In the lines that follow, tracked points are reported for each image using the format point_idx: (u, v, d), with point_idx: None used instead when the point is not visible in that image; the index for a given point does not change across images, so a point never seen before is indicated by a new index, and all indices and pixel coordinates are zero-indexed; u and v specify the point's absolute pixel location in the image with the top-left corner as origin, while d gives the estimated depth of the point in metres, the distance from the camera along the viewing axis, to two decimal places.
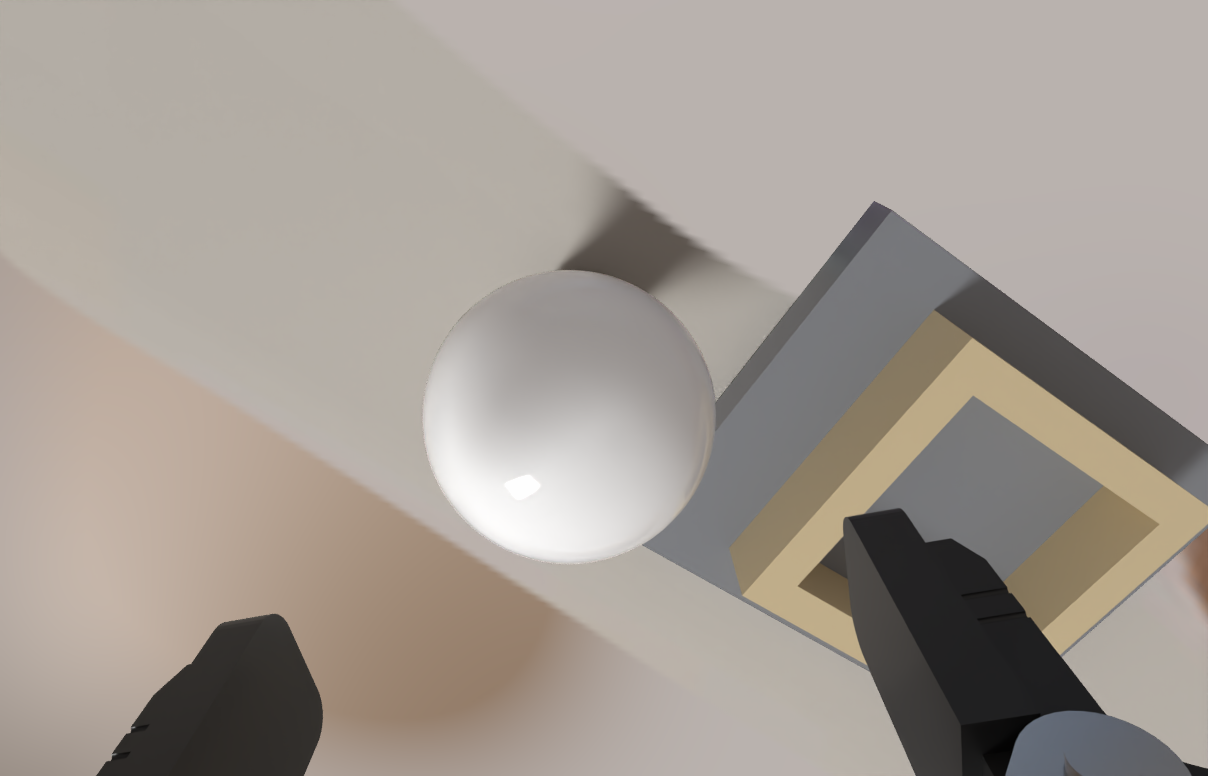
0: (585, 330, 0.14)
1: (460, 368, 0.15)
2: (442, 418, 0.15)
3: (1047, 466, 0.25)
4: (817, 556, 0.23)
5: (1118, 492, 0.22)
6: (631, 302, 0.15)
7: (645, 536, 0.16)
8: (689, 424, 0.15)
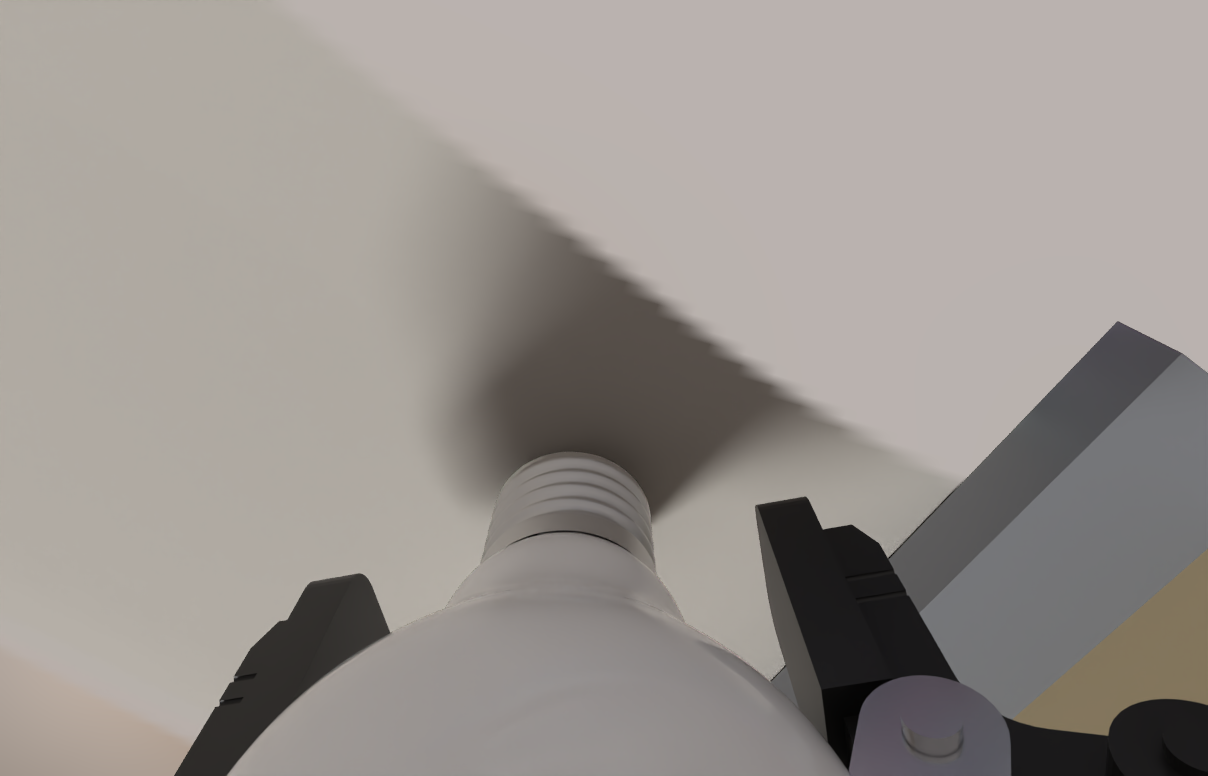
0: None
1: None
2: None
3: None
4: None
5: None
6: None
7: None
8: None
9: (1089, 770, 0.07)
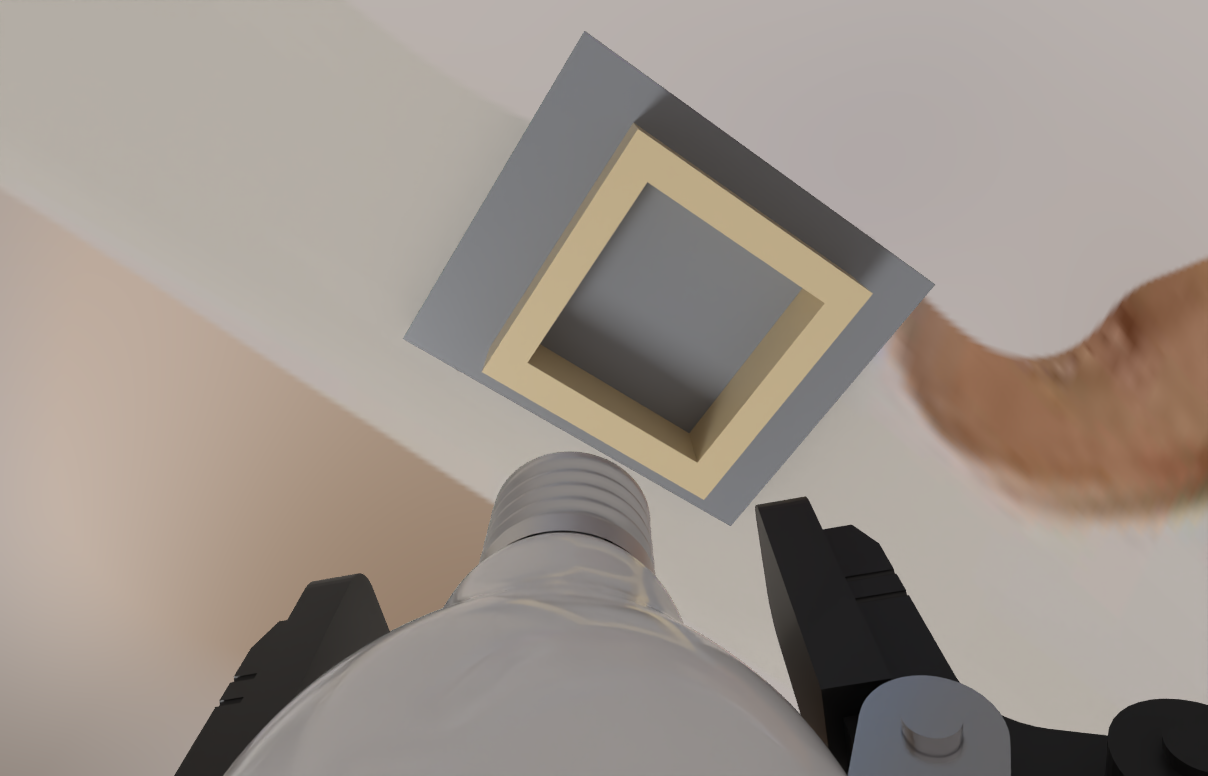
0: None
1: None
2: None
3: (752, 269, 0.29)
4: (540, 334, 0.27)
5: (784, 273, 0.27)
6: None
7: None
8: None
9: (1089, 770, 0.07)
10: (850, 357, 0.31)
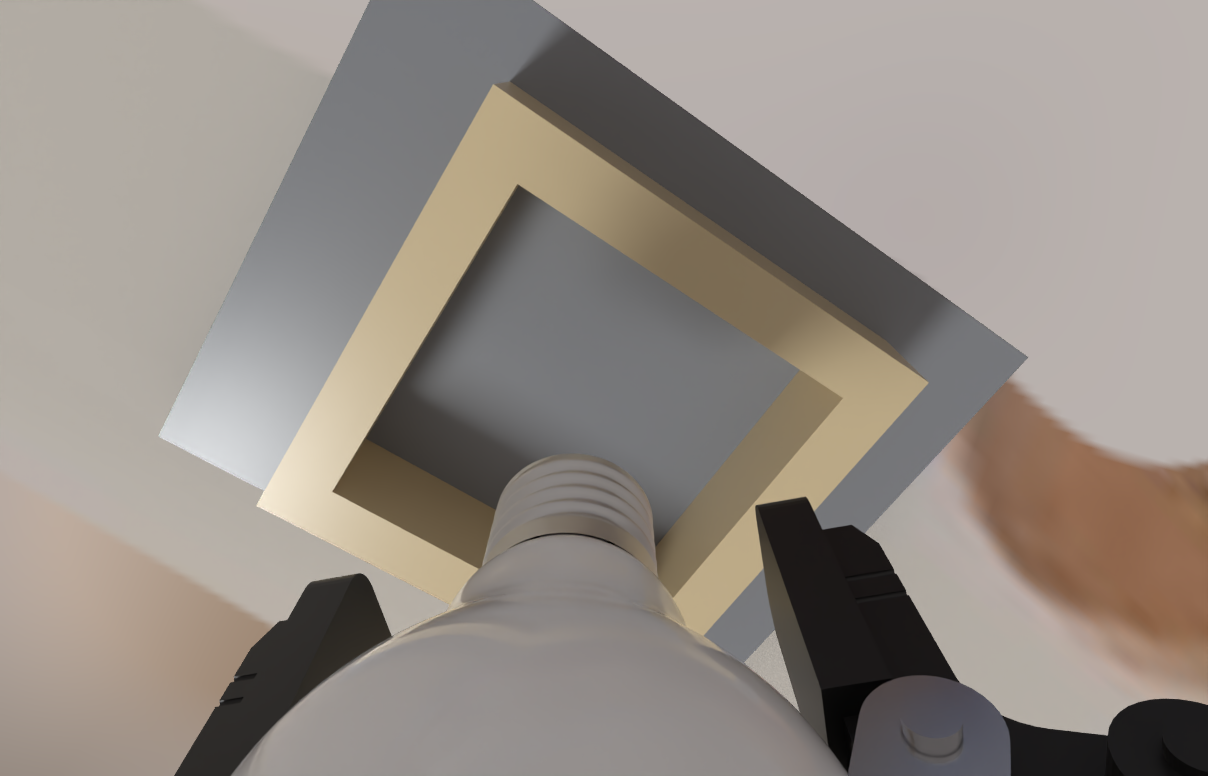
0: None
1: None
2: None
3: (722, 331, 0.17)
4: (349, 446, 0.16)
5: (772, 346, 0.15)
6: None
7: None
8: None
9: (1089, 770, 0.07)
10: (884, 470, 0.19)
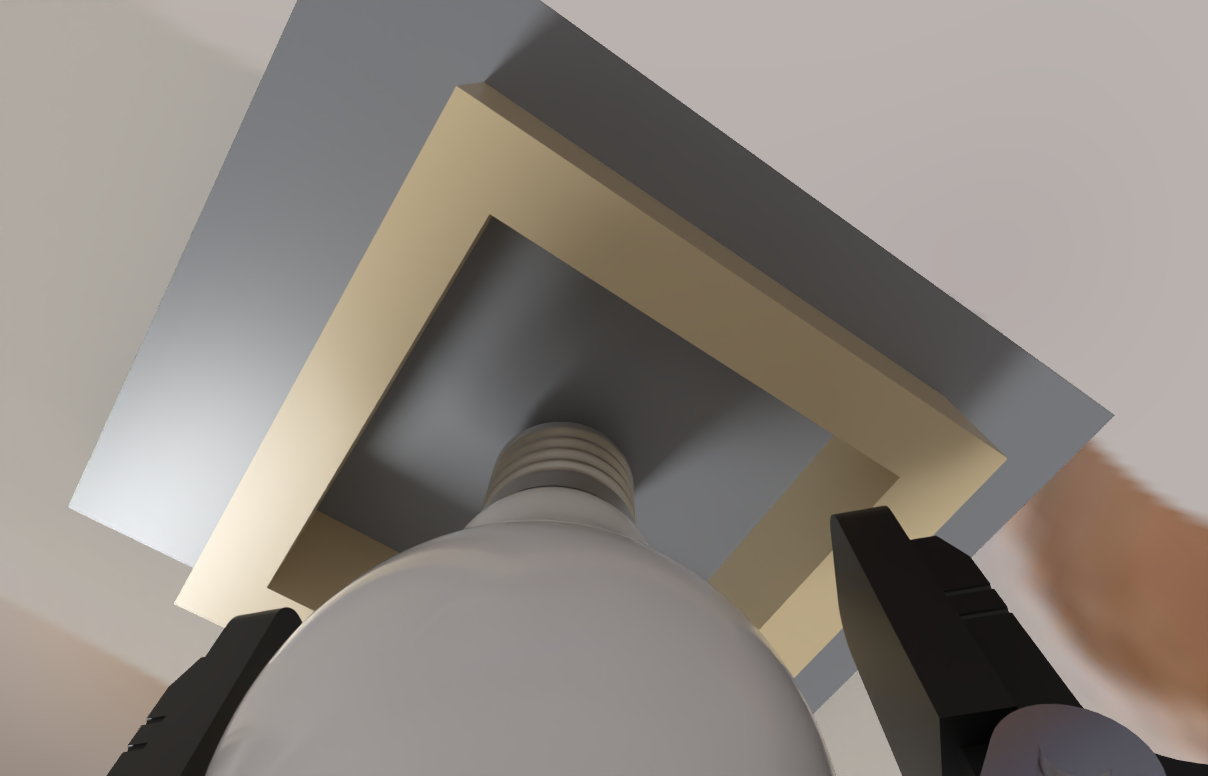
0: None
1: None
2: None
3: (744, 384, 0.14)
4: (285, 534, 0.13)
5: (812, 415, 0.12)
6: (665, 673, 0.06)
7: None
8: None
9: None
10: None
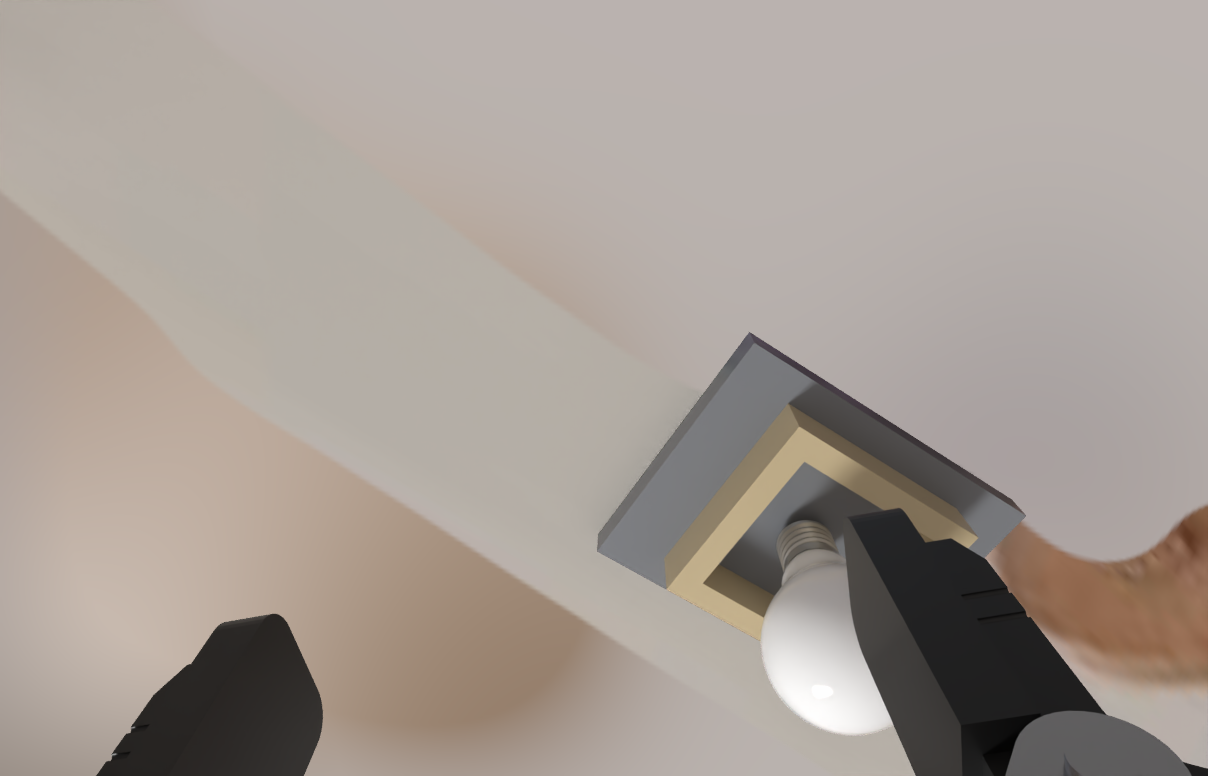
0: None
1: (803, 638, 0.28)
2: (792, 663, 0.28)
3: None
4: (714, 563, 0.35)
5: None
6: None
7: None
8: None
9: None
10: None
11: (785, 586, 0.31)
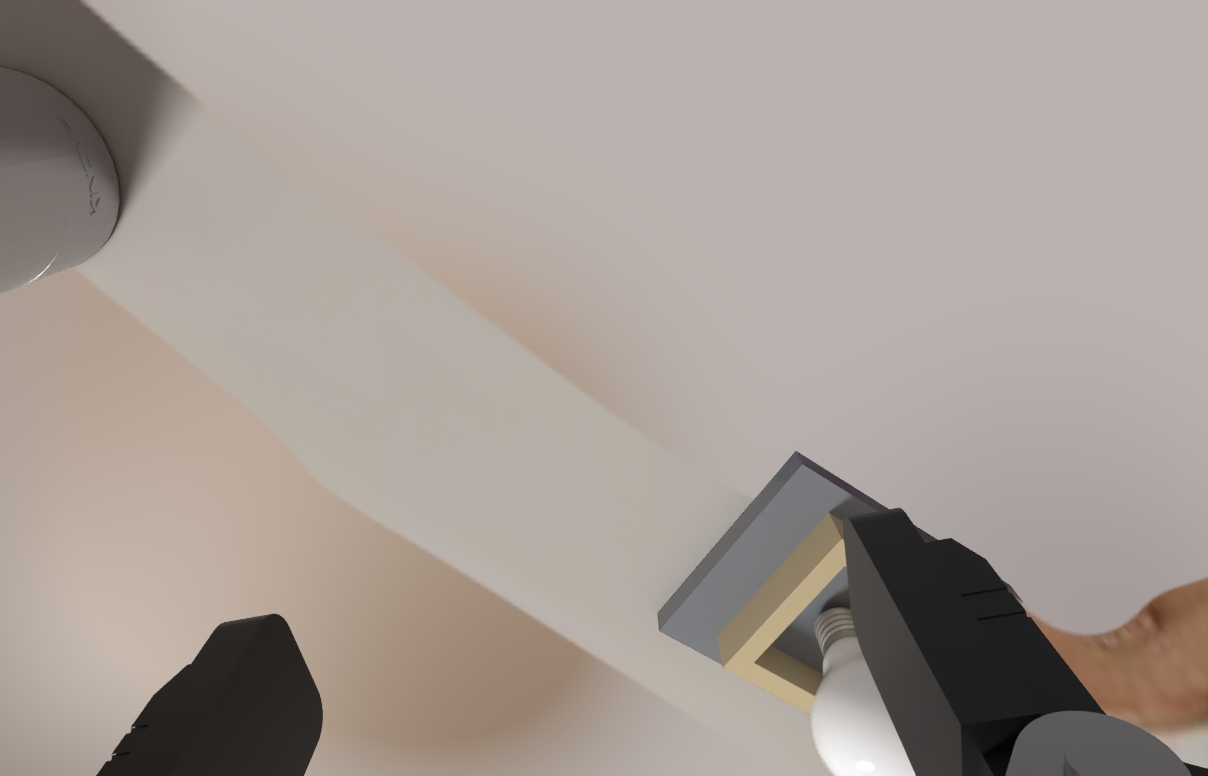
0: None
1: (852, 726, 0.34)
2: (842, 745, 0.35)
3: None
4: (764, 647, 0.42)
5: None
6: None
7: None
8: None
9: None
10: None
11: (832, 676, 0.37)
